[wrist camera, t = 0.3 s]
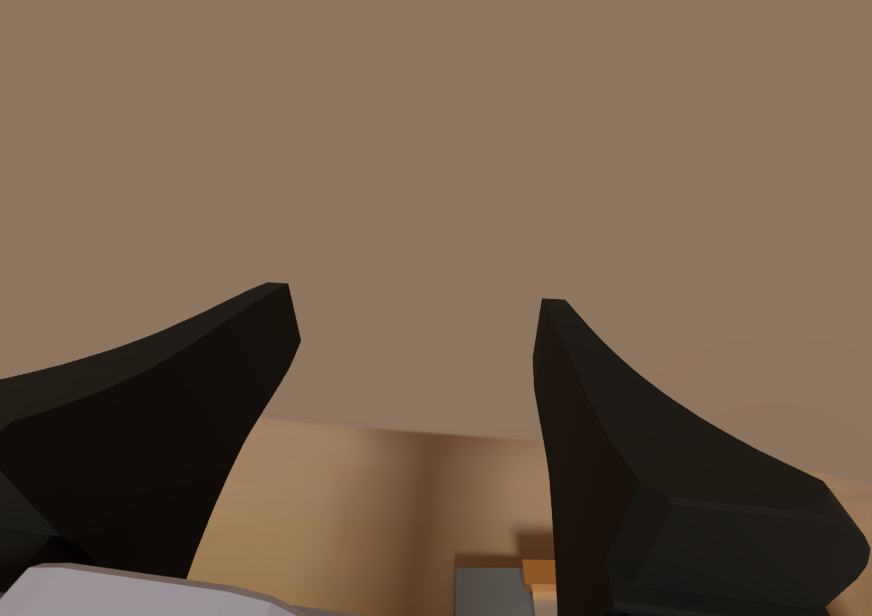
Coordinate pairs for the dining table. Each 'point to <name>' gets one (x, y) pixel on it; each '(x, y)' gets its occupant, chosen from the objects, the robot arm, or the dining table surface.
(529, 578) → the rail
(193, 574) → the dining table surface
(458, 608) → the mounting board
